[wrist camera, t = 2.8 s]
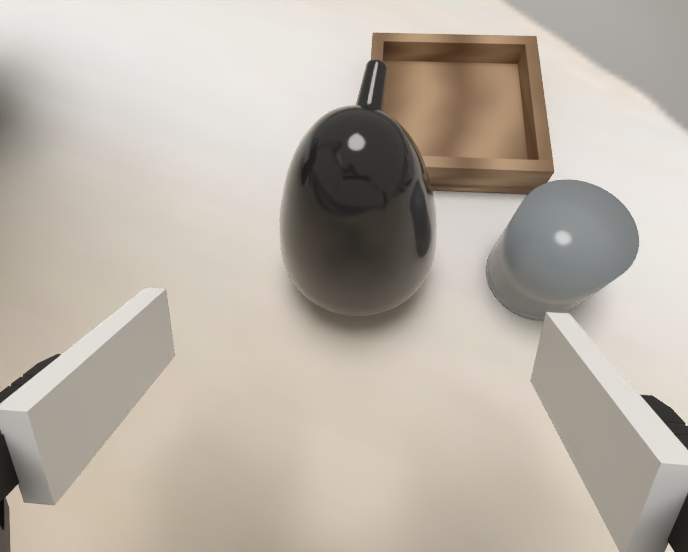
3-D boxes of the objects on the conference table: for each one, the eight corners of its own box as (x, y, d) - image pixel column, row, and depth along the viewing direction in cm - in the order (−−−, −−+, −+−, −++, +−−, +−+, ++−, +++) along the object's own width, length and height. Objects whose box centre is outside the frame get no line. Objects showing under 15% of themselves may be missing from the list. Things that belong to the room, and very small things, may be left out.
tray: (363, 187, 36) (363, 164, 33) (371, 61, 42) (372, 32, 39) (539, 194, 35) (554, 171, 33) (524, 65, 41) (536, 36, 38)
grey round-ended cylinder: (488, 317, 32) (521, 281, 25) (483, 230, 34) (512, 177, 28) (589, 323, 31) (649, 287, 25) (576, 234, 34) (627, 181, 27)
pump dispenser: (435, 218, 35) (486, 54, 21) (414, 345, 31) (458, 248, 17) (310, 196, 36) (278, 27, 22) (274, 316, 32) (208, 203, 18)
